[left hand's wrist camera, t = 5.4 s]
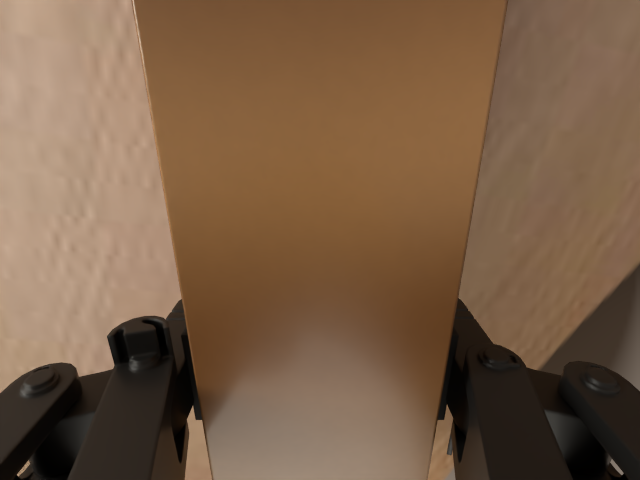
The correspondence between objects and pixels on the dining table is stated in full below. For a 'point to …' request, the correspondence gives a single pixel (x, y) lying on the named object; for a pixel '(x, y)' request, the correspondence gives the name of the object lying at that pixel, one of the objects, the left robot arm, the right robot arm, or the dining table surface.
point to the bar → (319, 218)
